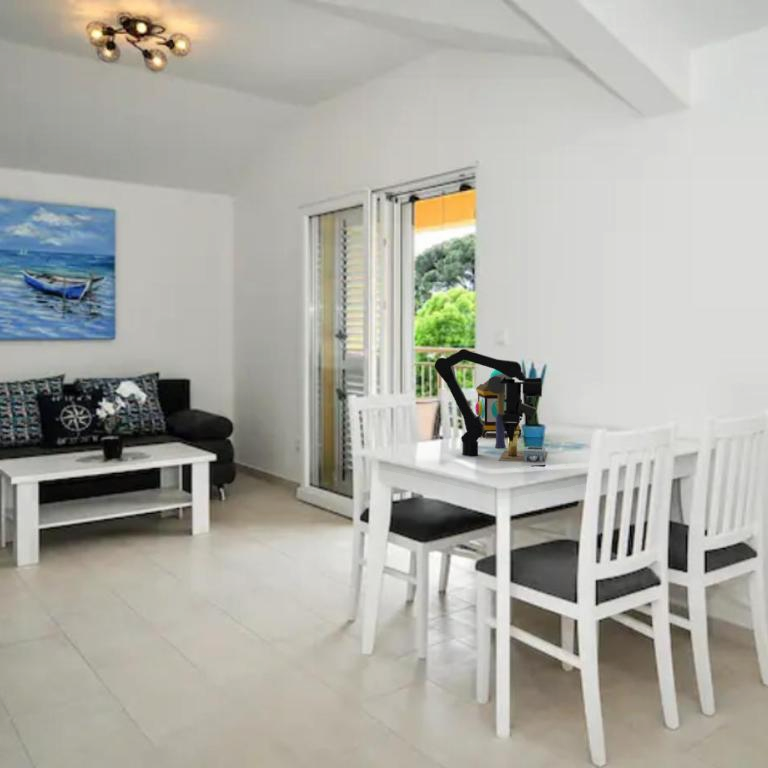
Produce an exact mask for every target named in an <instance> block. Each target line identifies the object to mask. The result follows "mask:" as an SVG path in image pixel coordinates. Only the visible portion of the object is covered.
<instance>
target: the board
mask: <svg viewBox="0 0 768 768" xmlns="http://www.w3.org/2000/svg"><path fill="white" fill-rule="evenodd" d="M547 456H548V451H546V455H545V458H544V460H542V462H540V460H537V462H536V463H538V464H537V465H535V464H534V465H532V467H534V466H545V467H546V464H543V463H546V460H547ZM497 461H498V462H516V463H517V462H518V463H525V462H524V450H517V456H508V449H505V450H503V452H502V453H501V455H500V457H499V458H498V460H497ZM526 463H531V462H530V461H529V459H528V460H527V462H526ZM539 463H542V464H539Z"/></svg>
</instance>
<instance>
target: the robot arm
mask: <svg viewBox="0 0 768 768" xmlns="http://www.w3.org/2000/svg"><path fill="white" fill-rule="evenodd" d="M463 361H467V362H471V363H473V364H476V365H480V366H482V367H483V366H484V367H487V368H491V369H493V370H497V371H499V372H501V373H503V374H505V375H506V376H508V377H511V378H513V379H507V378H506V377H504V378H503V380H501V381H500V383H501V384H505V399H504V402H505V410H504V415H502V423H503V425H504V428H505V430H506V432H505V434H506V433H507V434H506V435H507V439H508V438H509V440H510V441H513V437H514V432H515V430H517V425H518V424H519V425H520V421H522V420H523V417H524V415H526V416H529V417H530V418H534V417H535V414H536V413H537V410H538V408H537V407H535V403H533V402H528V404H527V403H523V399H522V394H524V395H525V397H532V398H533V397H537V398H539V397H541V398H542V397H543V395H542V394H543V386H542V377H527V376H526V375H525V374H524V372H523V371H522V369H523V368H522V366H521V364H520V362H518V361H514V360H508V359H507V360H506V359H499V358H494V357H491V356H488V355H484V354H482V353H479V352H475V351H472V350H468V349H467V348H461V349H460V350H459V351H457V352H455V353H453V354H452V355H450V356H444V357H439V358H437V360H435V363H434V368H435V371H436V372H437V373H438V375H439V376H440V378H442V379H443V381H444V382H445V384H446V385H447V387H448V389H449V391H450V393H451V396H452V397H453V399H454V401H455V403H456V405H457V407H458V409H459V411H460V413H461V415H462V418H463V421H464V425H465V430H466V432H464V434H462V436H461V437H460V438H461V442H462V445H461V447H462V449H461V450H462V452H461V454H462V456H466V457H467V456H468V457H478V456H479V441H478V440H479V439H480V438H481V437H482V434H483V432H484V425H485V424H484V423H483V421H482V419H481V416H480V415H477V414H476V413H474V411H473V410H472V408H471V405H470V403H469V402H468V399H467V398H466V394H465V393H464V392H463V389H462V387H461V385H460V384H459V381H458V379H457V377H456V371H455V368H454V366H455V365H458V364H459V363H461V362H463ZM516 379H517V380H518V381H516Z"/></svg>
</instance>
